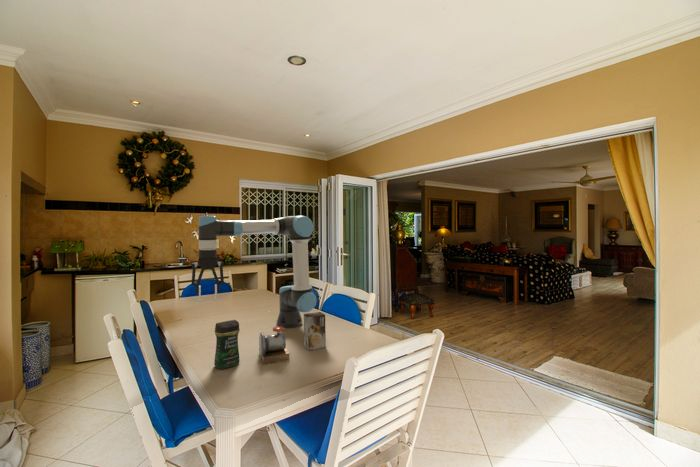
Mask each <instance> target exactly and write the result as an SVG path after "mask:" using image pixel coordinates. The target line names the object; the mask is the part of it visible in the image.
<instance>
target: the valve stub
mask: <svg viewBox="0 0 700 467" xmlns="http://www.w3.org/2000/svg"><path fill="white" fill-rule="evenodd" d="M284 330H285V328H284V327H282V326H277V325H276V326H274V327H272V332H275V333H276V334H268V335H265V333H264V332H260V333H259V336H258V354H259V357H260V359H261V362H262V364H263V365H269V364H273V363H274V364H275V363H280V362H286V361H287V362H288V361H290V352H289V350H288V349H287V347H286V345H287V343H286V342H287V340H286V335H285V333H284V332H283V331H284ZM281 332H282V333H281Z"/></svg>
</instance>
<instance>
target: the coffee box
mask: <svg viewBox="0 0 700 467" xmlns="http://www.w3.org/2000/svg"><path fill="white" fill-rule="evenodd" d="M326 334H327V333H326V314H325V313H323V312H321V311H316V312H307V313H304V314H303V347H304V348H306V349H307V351H312V350H317V349H318V350H319V349H322V348H326V347H327V343H326V339H327V338H326V337H327V336H326Z"/></svg>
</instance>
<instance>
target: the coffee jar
mask: <svg viewBox="0 0 700 467" xmlns="http://www.w3.org/2000/svg"><path fill="white" fill-rule="evenodd" d="M214 327H215V328H214V334H215V337H216V342H215V343H216V345H215V353H214V364H213V365H214V367H215V368H217V369H220V370H224V369H230V368H232V367H235V366H238V365H239V364H240V352H239V333H240V323H239V321H237V320H236V319H232V320H226V321H221V322H220V321H219V322H216V323H215V325H214Z"/></svg>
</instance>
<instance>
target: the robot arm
mask: <svg viewBox="0 0 700 467" xmlns="http://www.w3.org/2000/svg"><path fill="white" fill-rule="evenodd" d="M313 223H314V222H313V221H312V220H311V219H310V217H308V216H305V215H288V216H284V217H277V218H276V217H274V218H272V219H260V220H259V219H257V220H253V219H252V220H248V219H247V220H235V219H233V220H232V219H231V220H225V219H224V220H221V219H218V218H217V216H215V215H200V216H199V217H198V249H199V250H198V260H197V261H196V262H192V263H191V268H192V273H191V285H192V286H194V287H195V293H196V294H198V301H199V302H201V300H202V298H201V296H202V294H201V293H202V290H201V287H202V286H201V285H200V283H201V280H202V277H203V275H204V272H205V271H207V270H208V271H210V270H211V272H212V274H213V277H214V280H215V283H216V284H214V300H216V301H217V300H218V293H219V292H220V291H221V290H220V288H221V286H220V285H221V284H224V283H225V282H224V281H225V280H224V268H223V267H224V261H219V260H218V259H217V257H218V256H217V255H218V254H217V253H218V252H217V245H218V244H217V240H218V239H217V237H240V236H241V235H242V236H243V235H263V234H273V235H274V236H279V235H280V236H287V237H288V239H289V242H290V243H291V246H292V247H291V248H292V249H291V250H292V251H291V252H292V269H293V270H292V271H293V284H292V285H286V286H285V285H284V286H281V287H280V288H279V292H278V294H279V312H278V316H277V318H276V327H277V326H282V327H284V329H286V328H287V329H290V328H297V327H300V326H301V325H303V318H302V315H301V313H310V312H311V311H312V310H313V309H314V307H316V304H317V296H316V294H315V293H314V292H313V286H312V285H311V284H310V271H309V268H310V267H309V266H310V265H309V246H308V244H309V241H310V240H311V235H312V234H313V232H314V228H315V227H314V224H313ZM217 265H218V267H219V275H220V276H219V278H220V281H219V278H218V275H217V272H216V269H215V267H216V266H217ZM198 266H199V267H200V268H201V269H200V271H199V274H198V278H197V280H196V270H197V269H196V268H197V267H198ZM195 281H196V282H195Z"/></svg>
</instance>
